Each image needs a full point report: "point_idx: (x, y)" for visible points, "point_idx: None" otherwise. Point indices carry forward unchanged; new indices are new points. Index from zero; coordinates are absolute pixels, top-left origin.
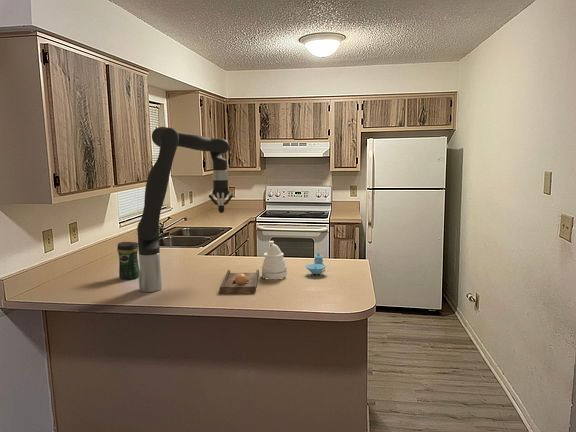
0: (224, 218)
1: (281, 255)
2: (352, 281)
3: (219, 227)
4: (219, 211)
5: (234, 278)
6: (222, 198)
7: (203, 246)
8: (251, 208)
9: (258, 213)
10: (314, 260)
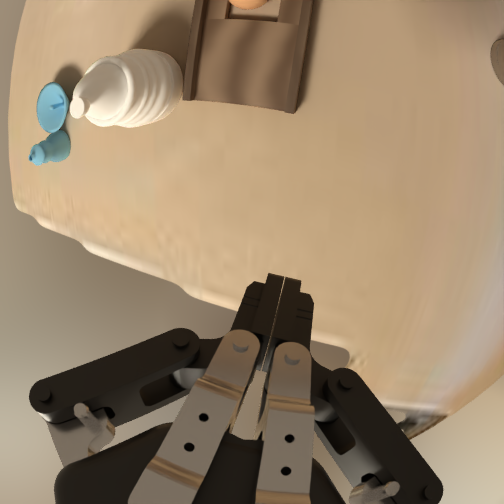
0: None
1: (85, 73)
2: (26, 61)
3: None
4: (302, 295)
5: (272, 41)
6: (204, 425)
7: None
8: None
9: None
10: (49, 149)
